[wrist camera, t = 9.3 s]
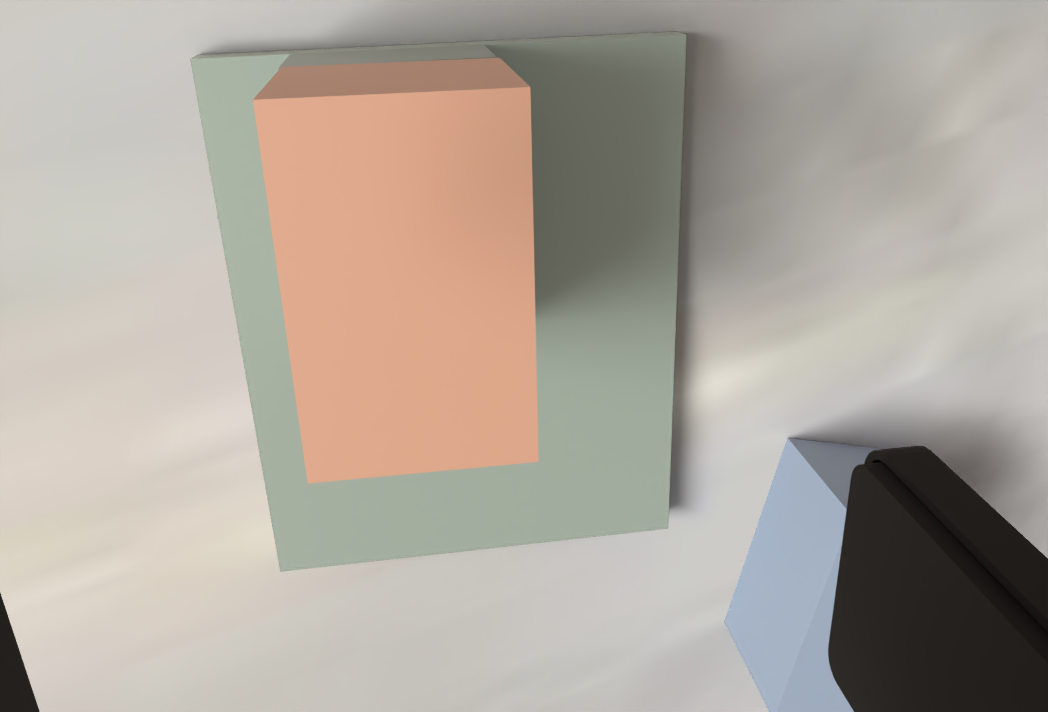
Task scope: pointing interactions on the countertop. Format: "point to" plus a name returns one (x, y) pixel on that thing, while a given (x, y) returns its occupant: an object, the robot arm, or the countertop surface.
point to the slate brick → (796, 578)
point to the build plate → (560, 307)
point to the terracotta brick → (405, 262)
